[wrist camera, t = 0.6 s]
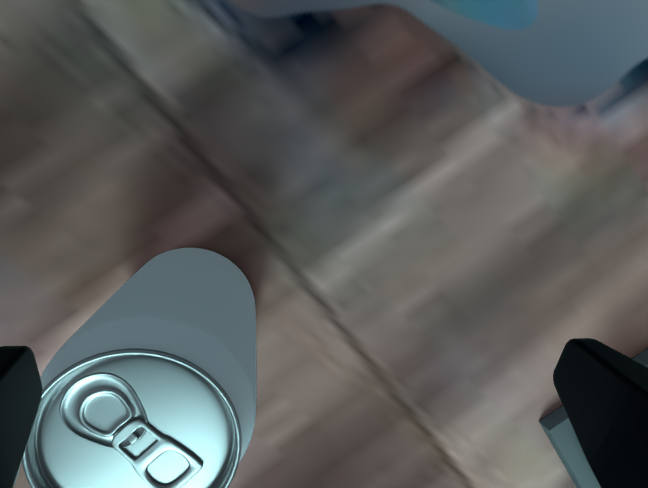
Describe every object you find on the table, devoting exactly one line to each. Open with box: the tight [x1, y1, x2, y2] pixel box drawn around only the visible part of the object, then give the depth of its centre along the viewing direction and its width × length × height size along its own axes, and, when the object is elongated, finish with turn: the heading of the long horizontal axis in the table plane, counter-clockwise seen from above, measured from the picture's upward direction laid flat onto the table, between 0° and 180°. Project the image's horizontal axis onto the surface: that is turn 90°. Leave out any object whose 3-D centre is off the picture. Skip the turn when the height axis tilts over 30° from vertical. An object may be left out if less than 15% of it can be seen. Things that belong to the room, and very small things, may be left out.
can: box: [22, 248, 257, 488], centre depth 18 cm, size 6×6×12 cm
